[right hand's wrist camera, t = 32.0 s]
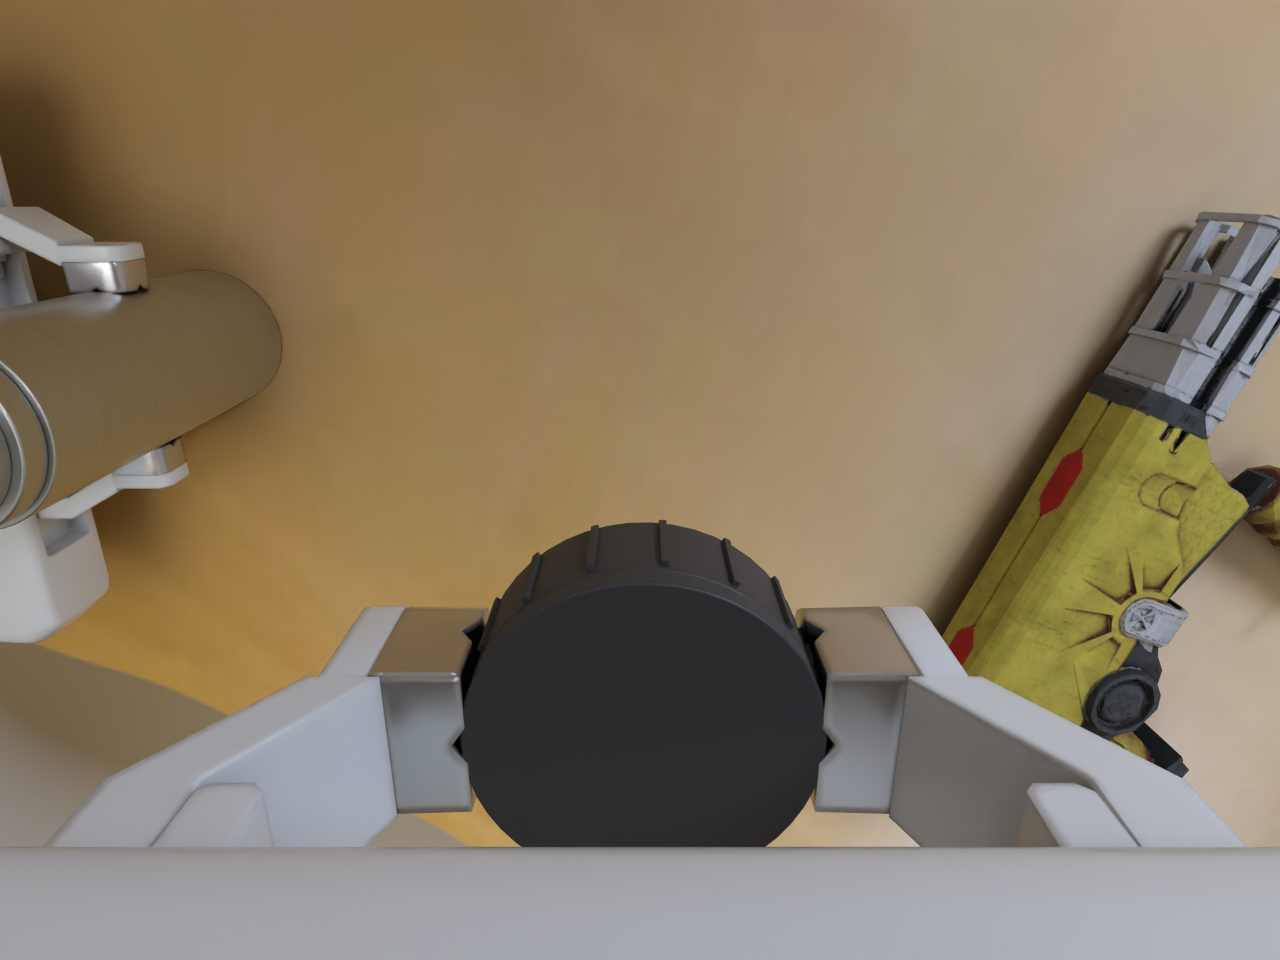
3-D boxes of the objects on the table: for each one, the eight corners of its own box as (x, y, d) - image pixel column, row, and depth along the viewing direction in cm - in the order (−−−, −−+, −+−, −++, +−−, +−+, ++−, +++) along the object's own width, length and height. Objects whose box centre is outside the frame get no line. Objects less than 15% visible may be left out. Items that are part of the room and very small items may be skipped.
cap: (622, 451, 9) (618, 503, 7) (869, 648, 10) (909, 727, 8) (420, 681, 10) (382, 765, 9) (660, 840, 11) (663, 940, 9)
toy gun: (1584, 376, 29) (1281, 211, 26) (1201, 864, 36) (923, 781, 33) (1450, 352, 34) (1176, 208, 30) (1130, 790, 40) (879, 711, 37)
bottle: (301, 313, 32) (-142, 482, 14) (255, 423, 34) (-195, 701, 16) (173, 244, 31) (-475, 330, 13) (132, 361, 33) (-496, 579, 15)
